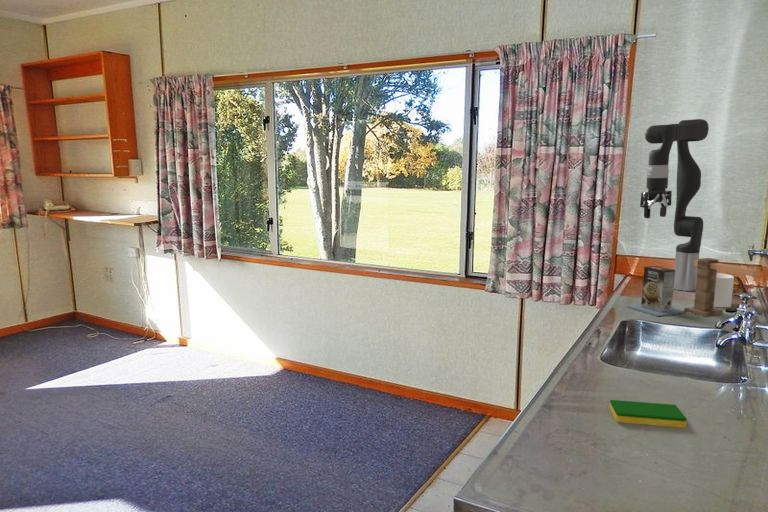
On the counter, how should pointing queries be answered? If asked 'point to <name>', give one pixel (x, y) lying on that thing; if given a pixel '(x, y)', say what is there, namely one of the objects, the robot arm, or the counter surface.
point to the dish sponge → (647, 413)
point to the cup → (723, 290)
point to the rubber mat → (655, 313)
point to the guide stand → (705, 289)
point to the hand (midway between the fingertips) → (654, 217)
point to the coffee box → (658, 288)
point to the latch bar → (731, 268)
